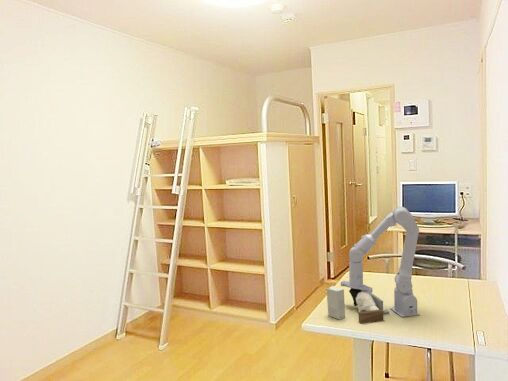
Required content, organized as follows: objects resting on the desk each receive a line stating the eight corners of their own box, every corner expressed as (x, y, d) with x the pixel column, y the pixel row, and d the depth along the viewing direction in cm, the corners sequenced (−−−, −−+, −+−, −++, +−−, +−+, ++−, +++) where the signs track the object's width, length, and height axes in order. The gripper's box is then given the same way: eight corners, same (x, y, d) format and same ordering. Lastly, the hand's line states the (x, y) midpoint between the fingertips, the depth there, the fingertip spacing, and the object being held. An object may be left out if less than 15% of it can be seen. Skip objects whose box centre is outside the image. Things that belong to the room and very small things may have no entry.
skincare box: (345, 317, 165) (345, 288, 164) (338, 320, 162) (338, 291, 161) (333, 312, 170) (333, 285, 169) (326, 316, 167) (326, 287, 166)
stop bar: (383, 320, 160) (383, 310, 160) (360, 323, 158) (360, 313, 158) (381, 318, 162) (381, 309, 161) (358, 321, 160) (358, 312, 160)
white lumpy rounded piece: (367, 288, 172) (385, 300, 161) (365, 306, 174) (384, 319, 163) (354, 290, 170) (372, 302, 159) (353, 309, 172) (371, 322, 161)
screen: (389, 314, 166) (389, 300, 166) (380, 315, 165) (379, 301, 165) (365, 296, 188) (365, 283, 187) (356, 297, 187) (356, 284, 186)
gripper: (376, 276, 170) (376, 306, 171) (346, 269, 180) (347, 298, 182) (367, 280, 165) (367, 311, 166) (337, 273, 175) (338, 303, 177)
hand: (356, 305), depth 174 cm, fingers closed
